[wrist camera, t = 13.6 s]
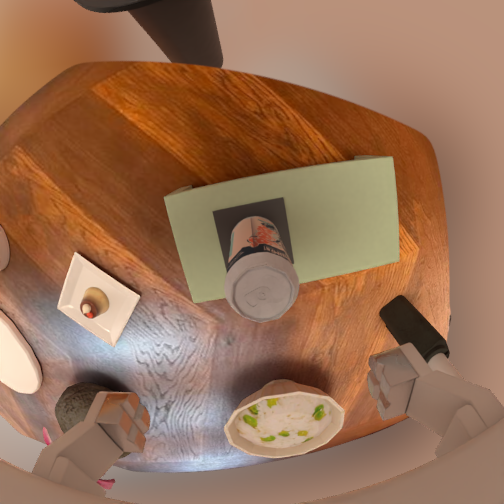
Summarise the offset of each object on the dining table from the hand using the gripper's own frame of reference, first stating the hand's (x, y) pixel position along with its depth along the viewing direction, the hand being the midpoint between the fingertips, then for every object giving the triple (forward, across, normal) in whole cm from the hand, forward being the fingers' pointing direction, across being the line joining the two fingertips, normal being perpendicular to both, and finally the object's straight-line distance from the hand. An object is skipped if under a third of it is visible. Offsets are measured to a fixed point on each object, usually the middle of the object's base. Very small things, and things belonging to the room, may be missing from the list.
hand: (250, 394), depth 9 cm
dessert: (+29, +25, +8) cm, 39 cm away
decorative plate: (+29, +61, +17) cm, 70 cm away
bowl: (+29, 0, +32) cm, 43 cm away
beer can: (+21, -1, +1) cm, 21 cm away
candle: (+29, -21, +20) cm, 41 cm away
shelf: (+29, -5, +1) cm, 29 cm away
